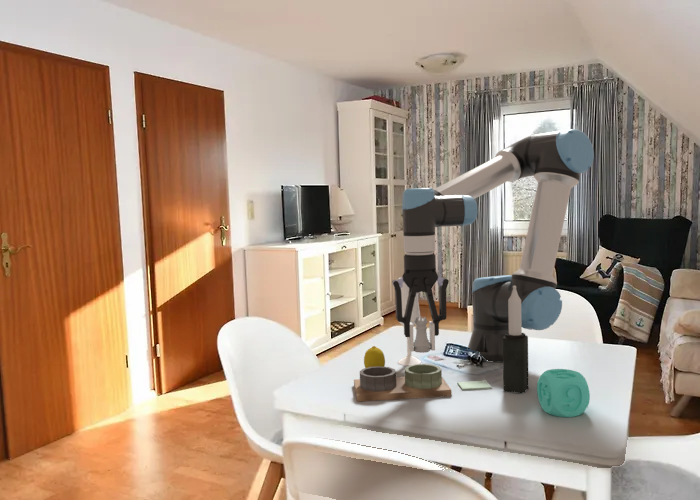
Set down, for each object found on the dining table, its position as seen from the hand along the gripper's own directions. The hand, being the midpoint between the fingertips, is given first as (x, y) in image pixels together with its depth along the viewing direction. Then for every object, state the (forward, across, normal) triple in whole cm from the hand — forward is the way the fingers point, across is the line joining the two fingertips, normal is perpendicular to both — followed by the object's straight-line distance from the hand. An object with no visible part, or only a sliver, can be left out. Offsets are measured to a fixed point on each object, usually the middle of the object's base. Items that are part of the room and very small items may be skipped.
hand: (421, 349), depth 143 cm
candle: (+10, -22, +4) cm, 24 cm away
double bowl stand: (+10, +5, 0) cm, 11 cm away
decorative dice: (+10, -27, +19) cm, 34 cm away
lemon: (+10, +10, -13) cm, 20 cm away
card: (+10, -13, 0) cm, 16 cm away
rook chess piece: (0, 0, 0) cm, 0 cm away
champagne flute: (+10, -1, -24) cm, 26 cm away
